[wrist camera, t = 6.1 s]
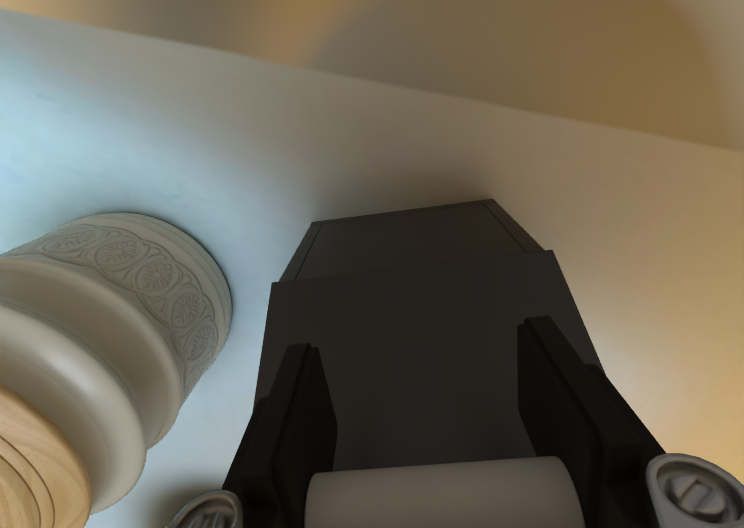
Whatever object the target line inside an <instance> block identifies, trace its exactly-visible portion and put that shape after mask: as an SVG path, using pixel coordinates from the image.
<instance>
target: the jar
mask: <svg viewBox="0 0 744 528" xmlns="http://www.w3.org/2000/svg"><path fill="white" fill-rule="evenodd" d="M231 316H232V304H231V296H230V292H229V289H228V286H227V283H226V281H225V278H224V276H223V274H222V272H221V270H220V269H219V267H218V266H217V264H216V263H215V261H214V260H213V259H212V257H211V256H210V255H209V254H208V253H207V252H206V250H205V249H204V248H203V247H202V246H201V245H199V244H198V243H197V242H196V241H195V240H194V239H192V238H191V237H190V236H188V235H187V234H186V233H184V232H183V231H181V230H179V229H178V228H176V227H174V226H172V225H170V224H168V223H166V222H164V221H161V220H159V219H156V218H153V217H149V216H145V215H141V214H135V213H122V212H118V213H107V214H97V215H90V216H86V217H81V218H78V219H75V220H73V221H71V222H68V223H65V224H63V225H60V226H58V227H56V228H55V229H53V230H51V231H50V232H48V233H47V234H46V235H44V236H43V237H40V238H38V239H36V240H33V241H31V242H29V243H26V244H24V245H21V246H19V247H17V248H14V249H12V250H9V251H7V252H5V253H2V254H0V528H83V527H84V526H85V524H86V522H87V520H88V518H89V516H90V515H92V514H95V513H98V512H100V511H103V510H105V509H107V508H109V507H111V506H113V505H114V504H116V503H117V502H119V501H120V500H121V499H122V498H123V497H125V496H126V495H127V494H128V493H129V492H130V491H131V490H132V489H133V487H134V486H135V485H136V483H137V481H138V480H139V478H140V476H141V474H142V471H143V469H144V465H145V462H146V455H147V450H149V449H150V448H152V447H153V446H154V445H156V444H157V443H158V442H159V441H160V440H162V439H163V437H164V436H165V435H166V434H167V433H168V431H169V430H170V429H171V427H172V426H173V424H174V422H175V420H176V418H177V415H178V412H179V410H180V408H181V407H182V405H183V403H184V402H185V400H186V399H187V397H188V396H189V394H190V393H191V391H192V390H193V388H194V387H195V385H196V383H197V382H198V380H199V379H200V377H201V376H202V374H203V373H204V372H205V371H206V370H207V369H208V368H209V367H210V366H211V365H212V364H213V362H214V361H215V359H216V358H217V356H218V354H219V353H220V351H221V349H222V348H223V345H224V343H225V340H226V337H227V334H228V329H229V326H230V322H231Z"/></svg>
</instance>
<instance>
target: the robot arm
mask: <svg viewBox="0 0 744 528" xmlns="http://www.w3.org/2000/svg"><path fill="white" fill-rule="evenodd" d="M517 374H518V409H519V414H520V417H521V420H522V422H523V425H524V427H525V429H526V432H527V434H528V437H529V439H530V441H531V444H532V446H533V449H534V451H535V453H536V456H537V457H545V456H556V457H558V458H560V459H561V460H562V462H563V463H564V464H565V466H566V468H567V470H568V471H569V473H570V475H571V478H572V480H573V482H574V485H575V487H576V490H577V493H578V496H579V499H580V503H581V506H582V510H583V515H584V520H585V526H586V528H744V485H743V484H742V483H740V482H739V481H738V480H737V479H736V478H735V477H734V476H732V475H731V474H730V473H728V472H727V471H725V470H723V469H722V468H720V467H719V466H717V465H715V464H713V463H711V462H708V461H706V460H704V459H701V458H699V457H695V456H691V455H686V454H680V453H667V454H666V452H665V451H664V450H663V448H662V447H661V446H660V445H659V443H658V442H657V441H656V439H655V438H654V437H653V436H652V434H651V433H650V432H649V430H648V429H647V428H646V427H645V425H644V424H643V423H642V421H641V420H640V419H639V418H638V416H637V415H636V414H635V413H634V411H633V410H632V409H631V407H630V406H629V405H628V404H627V402H626V401H625V400H624V398H623V397H622V396H621V395H620V393H619V392H618V391H617V389H616V388H615V387H614V386H613V384H612V383H611V382H610V380H609V379H608V378H607V377H606V375H605V374H604V373H603V372H602V370H601V369H600V368H599V367H598V366H597V365H595V364H593V363H591V364H585V363H584V362H583V360H582V359H581V358H580V356H579V355H578V354H577V352H576V351H575V350H574V348H573V347H572V345H571V344H570V343H569V341H568V340H567V339H566V337H565V336H564V335H563V333H562V332H561V331H560V329H559V328H558V327H557V325H556V324H555V322H554V321H553V320H552V318H551V317H550V316H548V315H545V316H536V317H527V318H525V320H524V324H518V326H517ZM337 434H338V427H337V420H336V416H335V412H334V408H333V404H332V400H331V396H330V392H329V388H328V384H327V380H326V376H325V372H324V368H323V364H322V360H321V356H320V352H319V349H318V347H312V346H311V344H310V343H309V342H308V343H299V344H290V345H288V346H287V348H286V351H285V354H284V356H283V359H282V361H281V364H280V367H279V369H278V372H277V374H276V377H275V380H274V382H273V385H272V387H271V390H270V393H269V395H268V397H262V398H260V399H259V400H258V402H257V404H256V406H255V409H254V411H253V414H252V416H251V418H250V421H249V423H248V426H247V428H246V431H245V433H244V435H243V438H242V440H241V443H240V445H239V448H238V450H237V452H236V455H235V457H234V460H233V462H232V464H231V467H230V469H229V472H228V474H227V477H226V479H225V481H224V484H223V486H222V489H221V490H215V491H210V492H207V493H205V494H202V495H200V496H198V497H196V498H195V499H193V500H192V501H190V502H189V503H188V504H186V505H185V506H184V507H183V508H182V509H181V510H180V511H179V512H178V513H177V514H176V515H175V516H174V518H173V519H172V521H171V523H170V524H169V526H168V527H167V528H304V512H305V501H306V495H307V490H308V486H309V483H310V480H311V478H312V476H313V475H314V474H316V473H322V472H332V471H333V464H334V457H335V450H336V442H337Z"/></svg>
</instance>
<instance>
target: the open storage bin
mask: <svg viewBox="0 0 744 528" xmlns="http://www.w3.org/2000/svg"><path fill="white" fill-rule="evenodd" d="M538 251H545V250H544V249H543V248H542V247H541V246H540V245H539V244H538V243H537V242H536V241H535V240H534V239H533V238H532V237H531V236H530V235H529V234H528V233H527V232H526V231H525V230H524V229H523V228H522V227H521V226H520V225H519V224H518V223H517V222H516V221H515V220H514V219H513V218H512V217H511V216H510V215H509V214H508V213H507V212H506V211H505V210H504V209H503V208H502V207H501V206H500V205H499V204H498V203H497V202H496V201H495V200H494V199H489V200H481V201H474V202H466V203H458V204H450V205H443V206H435V207H427V208H419V209H412V210H404V211H396V212H388V213H381V214H373V215H365V216H357V217H350V218H342V219H334V220H326V221H319V222H312V223H311V225H310V227H309V229H308V231H307V233H306V234H305V236H304V238H303V240H302V241H301V243H300V245H299V247H298V248H297V250H296V252H295V254H294V255H293V257H292V259H291V261H290V262H289V264H288V266H287V268H286V269H285V271H284V273H283V275H282V276H281V278H280V280H279V282H280V281H289V280H297V279H306V278H315V277H323V276H332V275H340V274H349V273H358V272H366V271H375V270H383V269H392V268H400V267H409V266H418V265H426V264H435V263H443V262H452V261H461V260H469V259H478V258H486V257H495V256H503V255H512V254H521V253H529V252H538Z"/></svg>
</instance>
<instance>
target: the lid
mask: <svg viewBox="0 0 744 528" xmlns="http://www.w3.org/2000/svg"><path fill="white" fill-rule="evenodd" d="M545 315H548V316H550V317H551V318H552V320H553V321H554V322H555V324H556V325H557V327H558V328H559V329H560V331H561V332H562V333H563V335H564V336H565V337H566V339H567V340H568V341H569V343H570V344H571V345H572V347H573V348H574V350H575V351H576V352H577V354H578V355H579V356H580V358H581V359H582V360H583V362H584V363H585V364H591V363H593V364H595V365H597V366H598V367H599V368H600V369H601V370H602V372H603V373H604V374H605V372H604V370H603V367H602V365H601V363H600V360H599V358H598V356H597V353H596V351H595V349H594V346H593V344H592V341H591V339H590V337H589V334H588V332H587V330H586V327H585V325H584V323H583V320H582V318H581V316H580V313H579V311H578V309H577V306H576V304H575V301H574V299H573V297H572V294H571V292H570V290H569V287H568V285H567V283H566V280H565V278H564V276H563V273H562V271H561V269H560V266H559V264H558V262H557V259H556V257H555V254H554V252H553V250H546V251H538V252H529V253H521V254H512V255H503V256H495V257H486V258H478V259H469V260H461V261H452V262H443V263H435V264H426V265H418V266H409V267H400V268H392V269H383V270H375V271H366V272H358V273H349V274H340V275H332V276H323V277H315V278H306V279H297V280H289V281H280V282H273V283H272V285H271V292H270V299H269V305H268V312H267V319H266V326H265V332H264V339H263V346H262V353H261V359H260V366H259V373H258V380H257V386H256V393H255V400H254V407H253V411H254V409H255V406H256V404H257V402H258V400H259V399H260V398H262V397H268V395H269V393H270V390H271V387H272V385H273V382H274V380H275V377H276V374H277V372H278V369H279V367H280V364H281V361H282V359H283V356H284V354H285V351H286V348H287V346H288V345H290V344H299V343H308V342H309V343H310V344H311V346H312V347H318V349H319V352H320V356H321V360H322V364H323V368H324V372H325V376H326V380H327V384H328V388H329V392H330V396H331V400H332V404H333V408H334V412H335V416H336V420H337V427H338V434H337V442H336V450H335V457H334V464H333V471H332V472H322V473H316V474H314V475H313V476H312V478H311V480H310V483H309V486H308V490H307V495H306V501H305V512H304V528H586V526H585V520H584V515H583V510H582V506H581V503H580V499H579V496H578V493H577V490H576V487H575V485H574V482H573V480H572V478H571V475H570V473H569V471H568V470H567V468H566V466H565V464H564V463H563V462H562V460H561V459H560V458H558V457H556V456H545V457H537V456H536V453H535V451H534V449H533V446H532V444H531V441H530V439H529V437H528V434H527V432H526V429H525V427H524V425H523V422H522V420H521V417H520V414H519V409H518V374H517V326H518V324H524V320H525V318H527V317H536V316H545ZM605 375H606V374H605ZM252 414H253V413H252Z"/></svg>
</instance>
